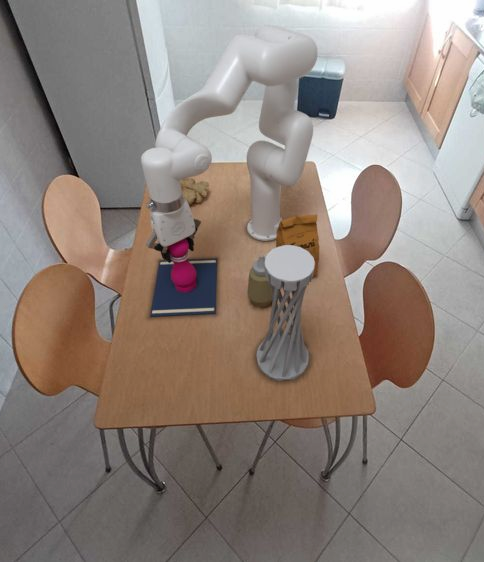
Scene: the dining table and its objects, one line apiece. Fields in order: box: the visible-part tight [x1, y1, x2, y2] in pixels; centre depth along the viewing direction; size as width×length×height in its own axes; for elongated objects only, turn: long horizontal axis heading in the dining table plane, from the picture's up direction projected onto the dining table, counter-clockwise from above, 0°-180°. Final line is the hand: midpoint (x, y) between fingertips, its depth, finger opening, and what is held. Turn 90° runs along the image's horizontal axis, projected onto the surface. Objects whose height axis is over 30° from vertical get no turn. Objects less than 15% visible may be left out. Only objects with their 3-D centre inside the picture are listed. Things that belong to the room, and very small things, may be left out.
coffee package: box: [275, 214, 320, 277], centre depth 113 cm, size 10×12×22 cm
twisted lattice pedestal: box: [255, 245, 315, 382], centre depth 88 cm, size 14×13×35 cm
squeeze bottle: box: [246, 253, 273, 308], centre depth 107 cm, size 8×8×18 cm
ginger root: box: [180, 177, 210, 206], centre depth 143 cm, size 16×16×8 cm
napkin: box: [149, 257, 218, 318], centre depth 117 cm, size 18×22×1 cm
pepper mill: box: [167, 238, 197, 293], centre depth 109 cm, size 7×7×20 cm
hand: (178, 253), depth 107 cm, fingers open, 6 cm apart
